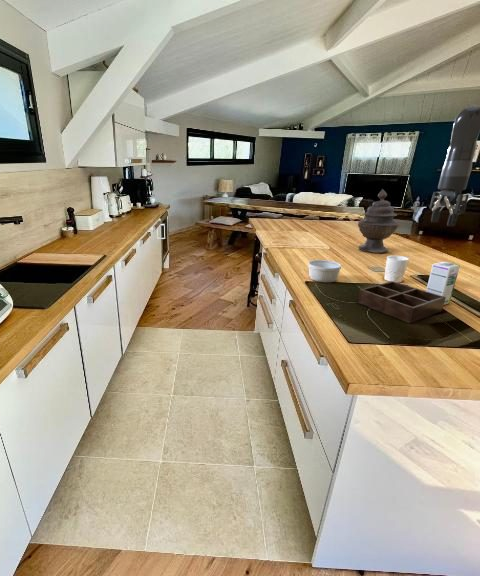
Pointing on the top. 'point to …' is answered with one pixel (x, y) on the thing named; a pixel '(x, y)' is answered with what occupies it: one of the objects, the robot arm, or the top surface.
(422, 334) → the top surface
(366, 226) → the decorative urn
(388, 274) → the white cup
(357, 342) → the top surface
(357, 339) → the top surface
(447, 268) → the syrup box
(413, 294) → the rack
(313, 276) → the ramekin
